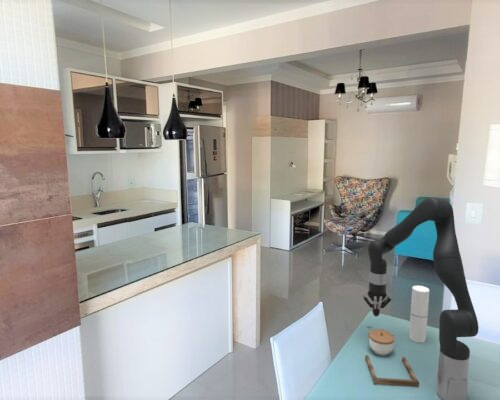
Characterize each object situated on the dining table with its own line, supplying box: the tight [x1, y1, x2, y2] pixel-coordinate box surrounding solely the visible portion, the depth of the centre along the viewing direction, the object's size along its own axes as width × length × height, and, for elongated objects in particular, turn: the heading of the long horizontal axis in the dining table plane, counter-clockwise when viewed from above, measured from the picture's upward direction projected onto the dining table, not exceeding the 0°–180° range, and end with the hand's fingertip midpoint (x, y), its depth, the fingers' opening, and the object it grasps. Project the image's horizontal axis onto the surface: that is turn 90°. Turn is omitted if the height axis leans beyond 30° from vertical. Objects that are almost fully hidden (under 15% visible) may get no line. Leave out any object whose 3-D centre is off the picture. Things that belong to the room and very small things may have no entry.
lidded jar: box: [368, 328, 396, 356], centre depth 153 cm, size 11×11×9 cm
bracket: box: [364, 354, 420, 388], centre depth 140 cm, size 16×16×2 cm
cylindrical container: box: [408, 285, 430, 344], centre depth 162 cm, size 7×7×25 cm
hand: (375, 315), depth 163 cm, fingers closed
